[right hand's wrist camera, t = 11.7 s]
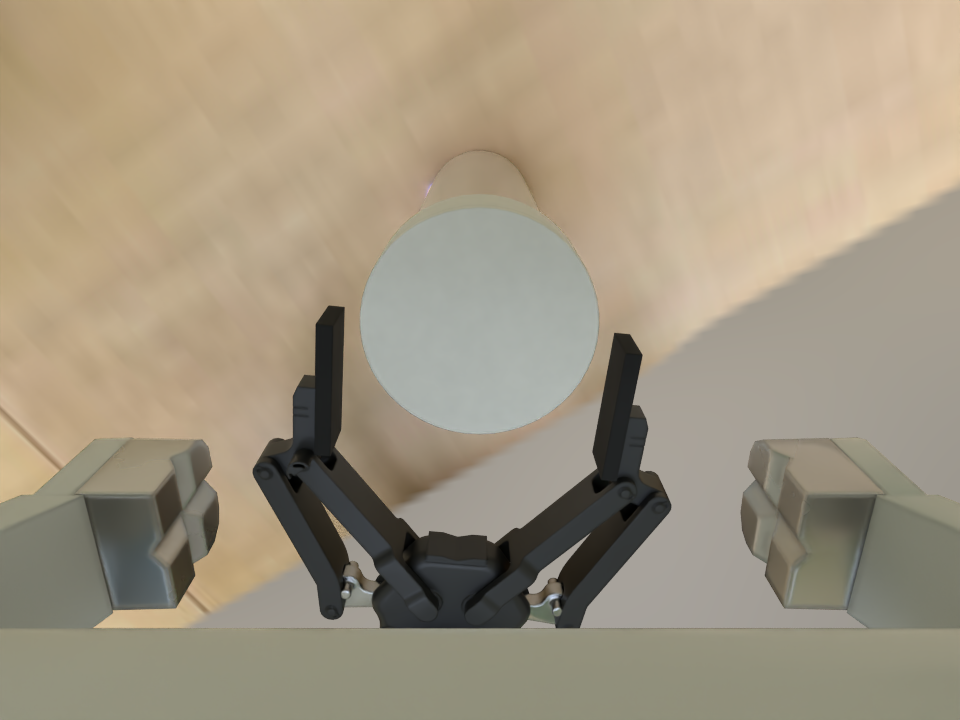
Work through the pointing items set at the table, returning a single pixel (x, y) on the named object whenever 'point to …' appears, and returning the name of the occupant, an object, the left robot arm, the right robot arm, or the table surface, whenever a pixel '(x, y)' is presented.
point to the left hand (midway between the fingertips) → (480, 328)
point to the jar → (479, 179)
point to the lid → (479, 315)
